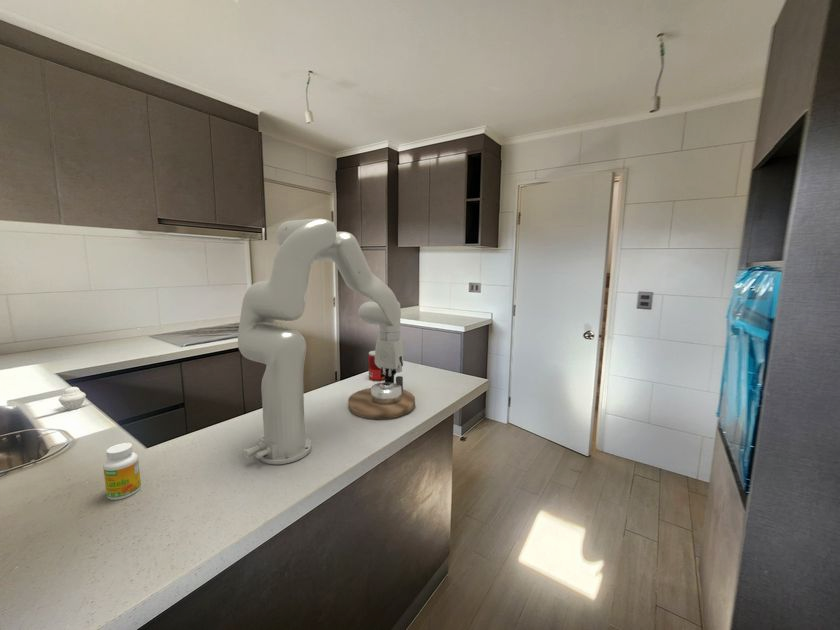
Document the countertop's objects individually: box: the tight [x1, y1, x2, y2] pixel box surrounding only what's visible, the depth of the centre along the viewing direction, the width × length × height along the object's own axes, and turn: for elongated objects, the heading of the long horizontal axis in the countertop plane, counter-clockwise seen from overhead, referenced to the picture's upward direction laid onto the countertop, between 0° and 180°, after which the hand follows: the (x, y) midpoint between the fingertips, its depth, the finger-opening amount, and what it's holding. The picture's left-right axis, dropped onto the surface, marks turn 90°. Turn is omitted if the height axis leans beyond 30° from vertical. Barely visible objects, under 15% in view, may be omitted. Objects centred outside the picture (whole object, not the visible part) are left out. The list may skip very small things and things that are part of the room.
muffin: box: [58, 386, 87, 411], centre depth 111 cm, size 6×6×7 cm
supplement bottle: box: [102, 442, 142, 501], centre depth 71 cm, size 5×5×10 cm
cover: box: [370, 381, 402, 405], centre depth 116 cm, size 10×10×5 cm
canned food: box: [368, 350, 385, 382], centre depth 144 cm, size 8×8×11 cm
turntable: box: [347, 375, 416, 420], centre depth 117 cm, size 22×22×7 cm
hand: (389, 385), depth 126 cm, fingers closed
